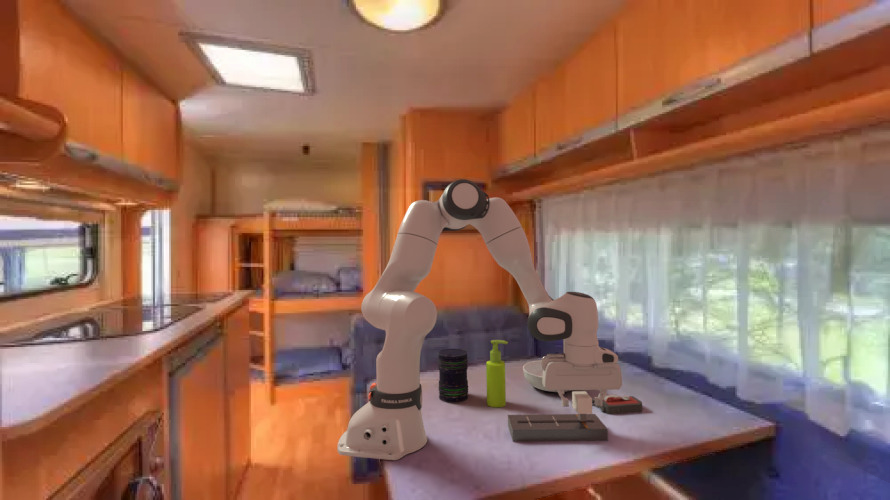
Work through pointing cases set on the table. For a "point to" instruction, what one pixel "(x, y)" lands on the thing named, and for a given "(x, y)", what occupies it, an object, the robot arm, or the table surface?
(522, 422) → the fader panel
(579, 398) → the fader knob
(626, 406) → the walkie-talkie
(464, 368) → the black ridged cylinder
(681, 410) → the table surface
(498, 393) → the soap dispenser
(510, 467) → the table surface
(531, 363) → the serving bowl
